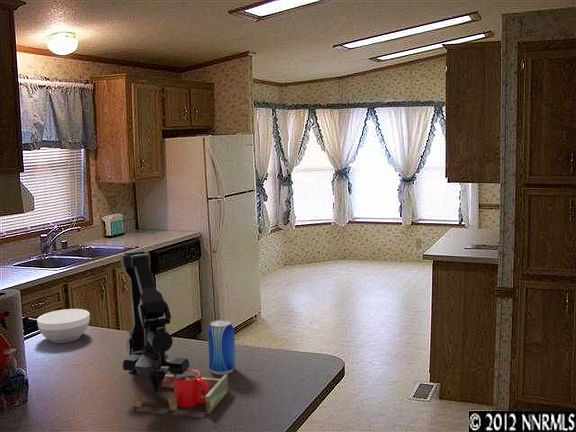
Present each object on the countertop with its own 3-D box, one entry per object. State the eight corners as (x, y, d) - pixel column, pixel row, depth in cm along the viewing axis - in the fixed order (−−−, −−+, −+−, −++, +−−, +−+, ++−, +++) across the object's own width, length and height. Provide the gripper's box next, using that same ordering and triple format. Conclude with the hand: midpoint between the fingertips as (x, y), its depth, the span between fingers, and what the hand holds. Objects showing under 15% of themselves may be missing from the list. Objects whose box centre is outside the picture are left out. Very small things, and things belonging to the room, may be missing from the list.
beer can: (231, 376, 189) (229, 327, 187) (205, 375, 191) (203, 326, 188) (238, 366, 197) (236, 319, 195) (214, 364, 199) (212, 318, 197)
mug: (201, 412, 165) (200, 385, 164) (168, 403, 172) (167, 377, 170) (219, 401, 172) (218, 375, 171) (187, 392, 178) (185, 367, 177)
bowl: (31, 338, 231) (29, 316, 230) (79, 326, 243) (78, 305, 242) (49, 350, 217) (47, 327, 215) (99, 338, 229) (97, 315, 228)
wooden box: (129, 410, 167) (127, 393, 167) (157, 384, 184) (156, 369, 184) (206, 418, 162) (205, 400, 161) (228, 390, 179) (227, 374, 178)
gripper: (111, 348, 168) (114, 401, 171) (173, 353, 164) (175, 407, 166) (130, 335, 179) (133, 385, 181) (188, 339, 175) (191, 389, 177)
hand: (157, 391), depth 176 cm, fingers closed
